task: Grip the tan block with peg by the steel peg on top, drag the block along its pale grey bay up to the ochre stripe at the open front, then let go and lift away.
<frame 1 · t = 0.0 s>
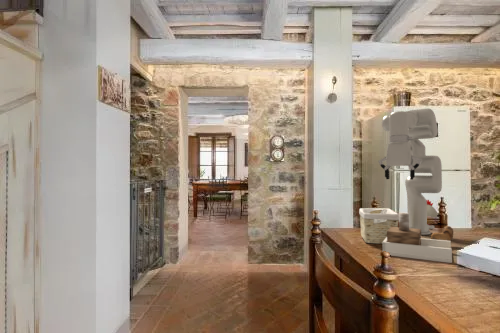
hand: (399, 179, 138), 31 cm above the table, tool pointing down, fingers open, 9 cm apart
tan block with peg: (404, 231, 136), point 9 cm above the table, slide at 0.0 cm
bay: (417, 253, 133), on the table
kitchen timer: (427, 223, 206), on the table
lion figurine: (441, 247, 144), on the table
storage basket: (377, 239, 161), on the table
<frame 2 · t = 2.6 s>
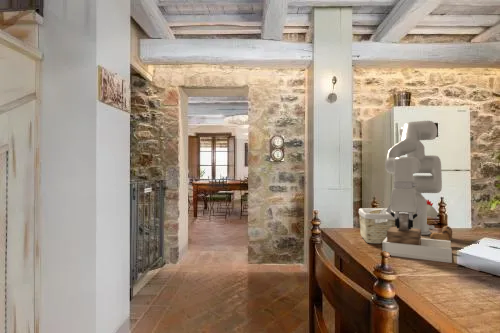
hand: (404, 228, 136), 10 cm above the table, tool pointing down, fingers closed on tan block with peg, 4 cm apart
tan block with peg: (404, 231, 136), point 9 cm above the table, slide at 0.0 cm, touching gripper
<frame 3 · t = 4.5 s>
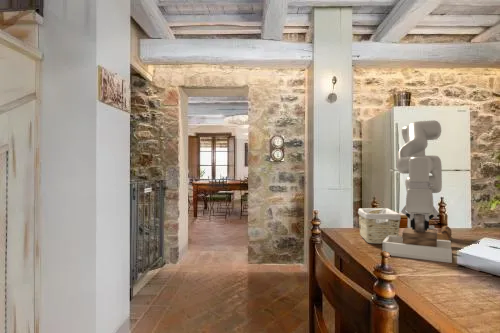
hand: (419, 229, 133), 10 cm above the table, tool pointing down, fingers closed on tan block with peg, 4 cm apart
tan block with peg: (419, 232, 133), point 9 cm above the table, slide at 5.9 cm, touching gripper
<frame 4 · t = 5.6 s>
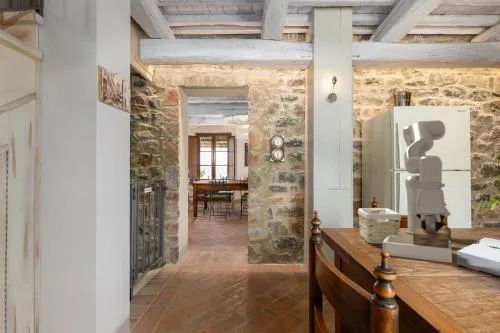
hand: (430, 230, 131), 10 cm above the table, tool pointing down, fingers closed on tan block with peg, 4 cm apart
tan block with peg: (430, 233, 131), point 9 cm above the table, slide at 9.9 cm, touching gripper
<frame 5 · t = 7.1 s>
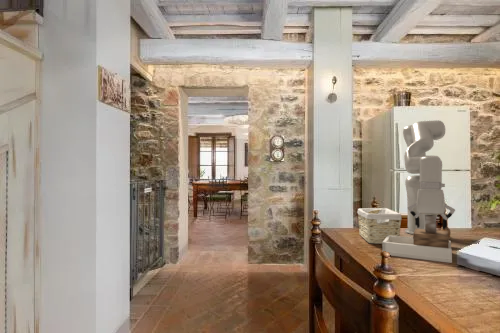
hand: (430, 228, 131), 11 cm above the table, tool pointing down, fingers open, 8 cm apart
tan block with peg: (430, 233, 131), point 9 cm above the table, slide at 10.0 cm
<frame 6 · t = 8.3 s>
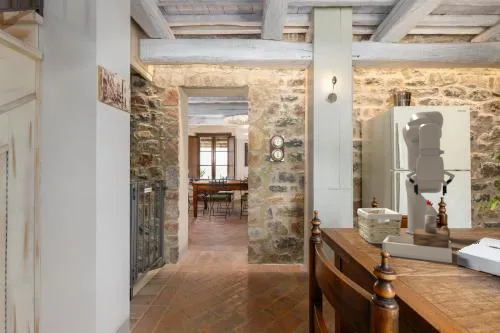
hand: (430, 194, 131), 25 cm above the table, tool pointing down, fingers open, 9 cm apart
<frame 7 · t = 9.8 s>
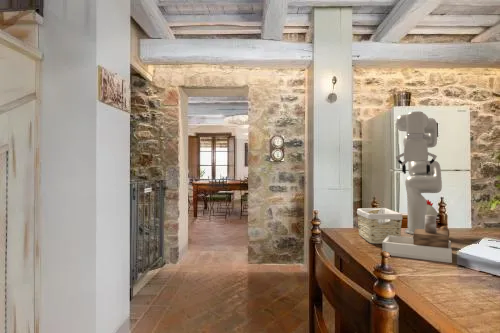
hand: (416, 173, 151), 33 cm above the table, tool pointing down, fingers open, 9 cm apart
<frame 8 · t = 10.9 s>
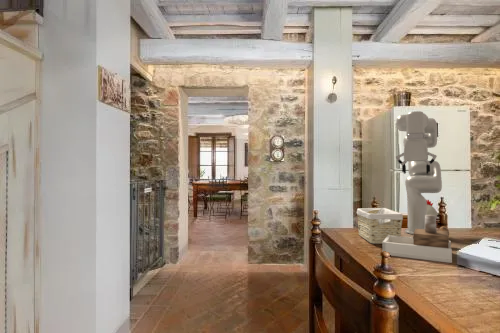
hand: (415, 173, 151), 33 cm above the table, tool pointing down, fingers open, 9 cm apart
at the end: tan block with peg slide at 10.0 cm; the gripper is holding nothing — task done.
